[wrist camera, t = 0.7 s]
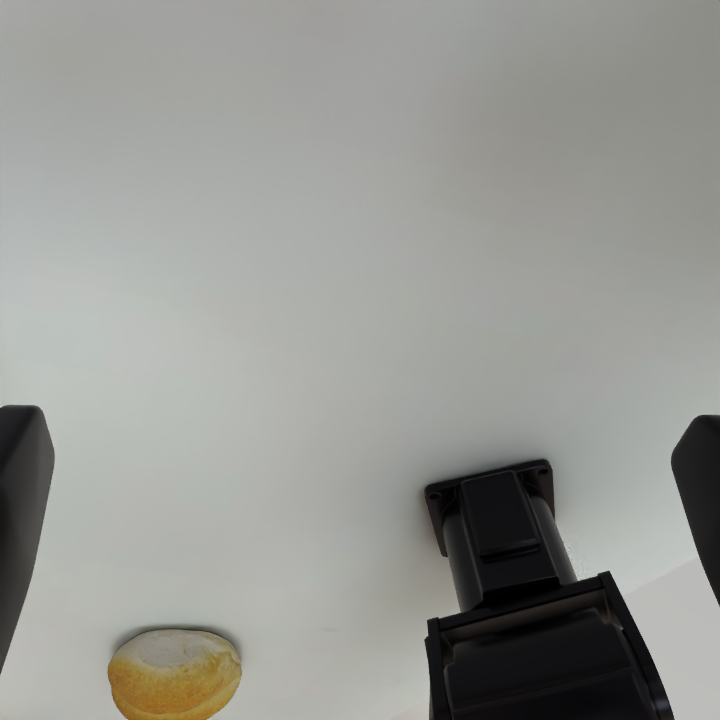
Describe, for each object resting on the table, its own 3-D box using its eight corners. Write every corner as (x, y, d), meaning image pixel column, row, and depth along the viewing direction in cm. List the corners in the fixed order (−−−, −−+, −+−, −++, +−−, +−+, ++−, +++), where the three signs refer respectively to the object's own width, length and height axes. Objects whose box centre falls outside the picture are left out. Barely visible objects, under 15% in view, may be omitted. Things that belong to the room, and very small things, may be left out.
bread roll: (118, 687, 44) (107, 751, 41) (108, 625, 38) (94, 694, 35) (239, 684, 46) (236, 746, 43) (246, 624, 40) (243, 690, 37)
